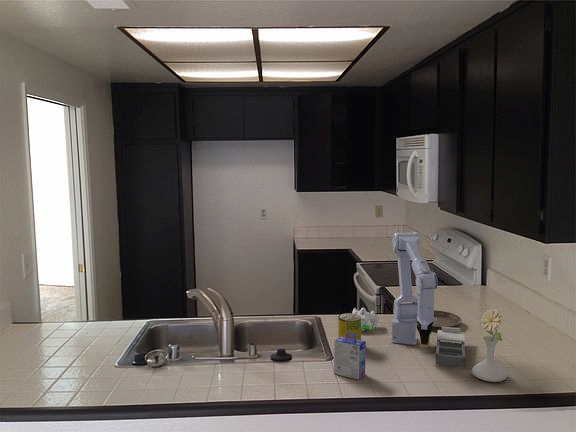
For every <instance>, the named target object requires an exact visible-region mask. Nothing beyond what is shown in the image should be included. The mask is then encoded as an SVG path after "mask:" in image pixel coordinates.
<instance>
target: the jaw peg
mask: <svg viewBox="0 0 576 432" xmlns="http://www.w3.org/2000/svg"><path fill="white" fill-rule="evenodd" d="M431 334H432V332H431V333H430V336H429V341H428V344H427V345H423V344H421V340H420V339H419V347H421V348H424V349H425V348H427V349H428V348H430V347H431V345H430V344H431V343H430V342H431V341H430V339H431Z"/></svg>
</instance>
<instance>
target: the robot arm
mask: <svg viewBox="0 0 576 432" xmlns="http://www.w3.org/2000/svg"><path fill="white" fill-rule="evenodd" d="M391 239H392V240H391V243H392V246H391V247H392V252H393V253H392V254H395V255H396V257H397V268H398V280H399V294H400V295H399V296H398V297H396V298H395V299H394V301H393V310H392V311H393V316H394V318H392V323H391V324H392V326H391V327H392V328H391V343H392V344H393V343H395V344H404V345H410V346H411V345H414V346H416V345H417V341H418V336H416V335H417V331H418V333H419V334H418V335H419V341H420V340H421V344H423V345H427V344H428V341H429V336H430V337H431V334H432V331H433V330H432V329H433V327H432V325H433V323H434V321H437V318H434V310H435V290H437V288H438V285H439V283H438V282H439V281H438V276H437V274H436V272H434V271H433V270H431V269H430V266H429V264H428V262H427V260H426V259H425V258H423V257H422V253H421V250H420V244H421V237H420V234H419V232H417V231H414V232H394V233H393V235H392V238H391ZM411 261H412V262H411ZM411 269H412V271H413V273H414V275H415V286H416V293H417V297H415V296H414V295H413V285H412V284H413V283H412V282H413V281H412V271H411ZM416 321H418V323H419V325H418V324H417V323H416ZM430 333H431V334H430Z"/></svg>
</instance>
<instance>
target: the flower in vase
mask: <svg viewBox="0 0 576 432" xmlns="http://www.w3.org/2000/svg"><path fill="white" fill-rule="evenodd" d="M502 318H503V315H502V314H501V312H499V310H498V309H497V308H495V309H493V308H490V309H487V311H484V312H483V314H482V317H481V319H480V322H481V324H480V327H482V329H484V332H487V333H488V334H489V335H486V336H482V339H483V340H484V342H485V346H486V357H485V359H484V360H482V361H480V362H478V363H476V364H475V365H474V366H473V367H472V369H471V373H472V375H473V376H475V377H476V378H477V379H480V380H482V381H485V382H492V383H493V382H494V383H498V382H503V381H506V380H507V378H508V372H507V371H506V369H505V368H504V367H503V366H501V365H500V364H499V363H498V362H497V361H496V359H495V347H496V345H497V344H498V342H499V341H502V342H503V338H502V334H501V332H498V329H497V328H499V326H500V325H501V324H502V320H503V319H502ZM494 331H495V333H494Z"/></svg>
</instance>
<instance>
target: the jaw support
mask: <svg viewBox="0 0 576 432" xmlns="http://www.w3.org/2000/svg"><path fill="white" fill-rule="evenodd" d="M351 312H352V314H357V315H360V316H361V329H366V330H371V331H372V330H373V328H374V329H376V328H377V327H378V326H377V325H378V323H379V320H380V317H379V315H378V314H376V312H375V310H372V311H371V312H368V311H367V308H365V307H361V309H360V310H358V309H357V308H356V307H354V308H353V310H352V311H351ZM362 314H363V315H362ZM368 322H369V323H371V324H368ZM375 327H376V328H375Z"/></svg>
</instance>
